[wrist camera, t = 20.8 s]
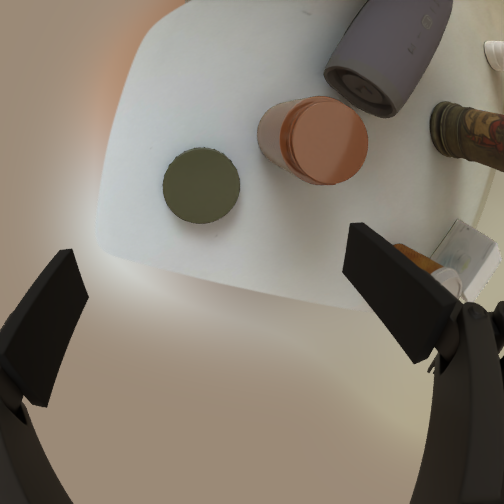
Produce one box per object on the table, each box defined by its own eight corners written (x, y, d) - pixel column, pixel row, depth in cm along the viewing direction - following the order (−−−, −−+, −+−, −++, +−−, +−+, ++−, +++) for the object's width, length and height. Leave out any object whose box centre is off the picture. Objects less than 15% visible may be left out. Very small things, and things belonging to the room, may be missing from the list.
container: (467, 131, 30) (553, 160, 15) (446, 167, 33) (537, 208, 17) (444, 89, 27) (543, 105, 11) (421, 125, 29) (529, 153, 13)
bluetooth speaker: (363, 120, 28) (419, 126, 19) (303, 72, 24) (348, 55, 16) (422, 18, 21) (470, 10, 12) (377, -24, 17) (421, -45, 9)
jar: (256, 100, 25) (285, 90, 16) (323, 104, 26) (374, 102, 18) (257, 169, 29) (285, 191, 20) (321, 168, 30) (369, 190, 21)
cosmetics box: (456, 217, 38) (498, 242, 28) (465, 235, 40) (502, 260, 31) (425, 261, 40) (464, 294, 31) (436, 276, 43) (471, 307, 34)
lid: (238, 215, 31) (241, 221, 29) (168, 221, 29) (166, 227, 28) (237, 145, 27) (240, 146, 25) (161, 150, 26) (159, 152, 24)
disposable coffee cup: (360, 285, 39) (403, 336, 29) (383, 228, 35) (439, 270, 25) (400, 288, 42) (441, 331, 31) (422, 239, 38) (472, 275, 27)
